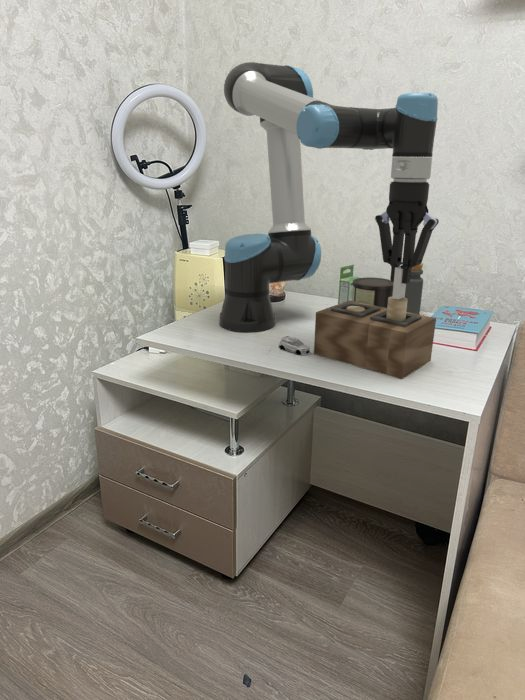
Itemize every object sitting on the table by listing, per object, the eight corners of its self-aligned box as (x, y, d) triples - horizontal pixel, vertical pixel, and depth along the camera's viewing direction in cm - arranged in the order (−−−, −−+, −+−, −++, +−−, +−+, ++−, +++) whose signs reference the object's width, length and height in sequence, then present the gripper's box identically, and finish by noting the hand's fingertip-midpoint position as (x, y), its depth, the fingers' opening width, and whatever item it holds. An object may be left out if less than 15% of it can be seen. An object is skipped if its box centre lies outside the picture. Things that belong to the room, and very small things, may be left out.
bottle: (394, 314, 153) (399, 262, 147) (406, 311, 156) (411, 260, 151) (411, 319, 148) (417, 266, 143) (423, 315, 152) (429, 263, 147)
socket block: (313, 353, 121) (315, 309, 118) (346, 339, 131) (349, 297, 128) (401, 379, 108) (407, 329, 104) (430, 360, 118) (436, 315, 114)
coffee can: (389, 331, 138) (394, 278, 133) (390, 344, 128) (396, 287, 123) (349, 328, 140) (353, 276, 135) (347, 340, 130) (351, 284, 125)
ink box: (348, 315, 151) (351, 269, 146) (336, 313, 154) (339, 267, 149) (361, 311, 156) (365, 266, 151) (350, 308, 158) (353, 264, 154)
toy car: (303, 357, 120) (304, 345, 119) (277, 349, 125) (277, 337, 124) (313, 353, 122) (314, 341, 121) (286, 345, 127) (287, 334, 126)
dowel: (381, 339, 114) (384, 298, 111) (389, 334, 117) (393, 295, 114) (397, 343, 112) (402, 302, 109) (406, 338, 115) (410, 298, 112)
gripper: (370, 180, 105) (362, 295, 113) (433, 182, 97) (419, 306, 105) (388, 179, 110) (379, 289, 118) (449, 181, 102) (435, 299, 110)
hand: (398, 297), depth 111 cm, fingers closed
